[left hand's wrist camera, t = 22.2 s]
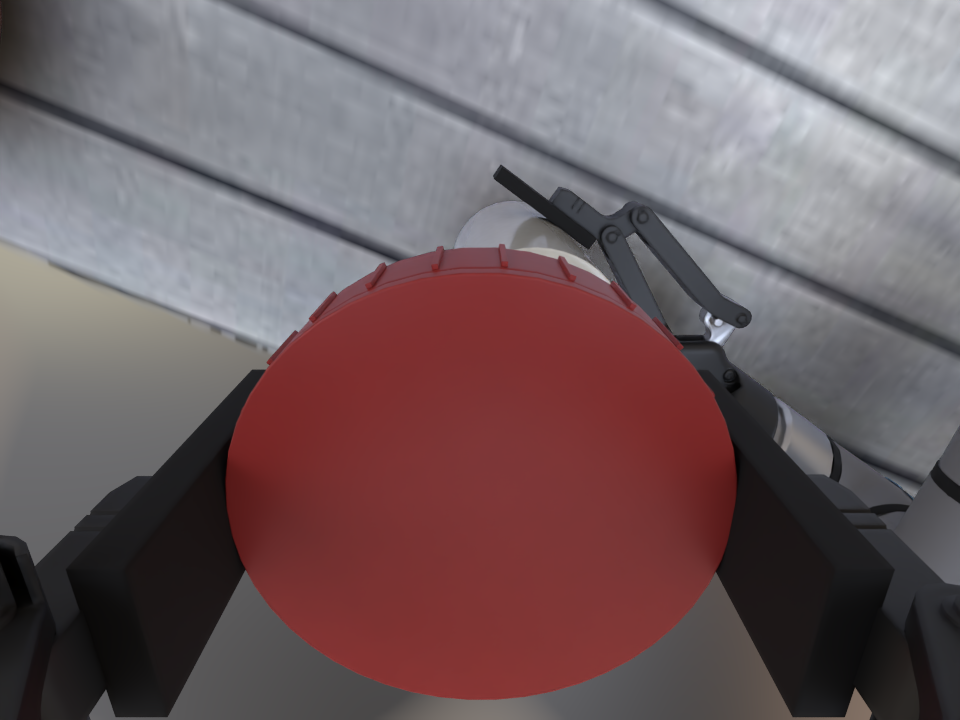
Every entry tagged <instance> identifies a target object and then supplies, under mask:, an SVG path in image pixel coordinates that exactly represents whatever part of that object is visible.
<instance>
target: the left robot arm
mask: <svg viewBox="0 0 960 720" xmlns="http://www.w3.org/2000/svg"><path fill="white" fill-rule="evenodd" d="M265 371H266V370H251V372H250V373H249V374H248V375H247V376H246V377H245V378H244V379H243V380H242V381H241V382H240V383H239V384H238V385H237V386H236V388H235V389H234V390H233V391H232V392H231V393H230V394H229V395H228V396H227V397H226V398H225V399H224V400H223V401H222V403H221V404H220V405H219V406H218V407H217V408H216V409H215V410H214V411H213V412H212V413H211V414H210V415H209V416H208V418H207V419H206V420H205V421H204V422H203V423H202V424H201V425H200V426H199V427H198V428H197V429H196V430H195V431H194V432H193V434H192V435H191V436H190V437H189V438H188V439H187V440H186V441H185V442H184V443H183V444H182V445H181V446H180V447H179V449H178V450H177V451H176V452H175V453H174V454H173V455H172V456H171V457H170V458H169V459H168V460H167V461H166V462H165V463H164V465H163V466H162V467H161V468H160V469H159V470H158V471H157V472H156V473H155V474H154V475H153V476H137V477H135V478H133V479H132V480H130V481H128V482H126V483H125V484H123V485H121V486H120V487H118V488H116V489H115V490H113V491H111V492H110V493H109V494H108V495H107V496H106V497H105V498H104V499H103V500H102V501H101V502H100V503H98V504H97V505H96V506H95V507H94V508H93V509H92V510H91V514H90V515H86V516H85V517H84V518H83V519H82V520H81V521H80V522H79V523H78V524H77V525H76V526H75V530H74V531H70V532H69V533H68V534H67V535H66V536H65V537H64V538H63V539H62V540H61V541H60V542H59V543H58V544H57V545H56V546H55V547H54V548H53V549H52V550H51V551H50V552H49V553H48V554H47V555H46V556H45V557H44V558H43V559H42V560H41V561H40V562H39V563H38V564H37V565H36V566H34V563H33V561H32V558H31V555H30V552H29V550H28V547H27V544H26V543H25V542H24V541H22V540H21V539H19V538H18V537H15V536H3V535H0V720H90V717H89V714H90V712H91V711H92V709H93V708H94V706H95V705H96V703H97V702H98V700H99V699H100V697H101V696H102V694H103V693H104V691H105V690H107V693H108V696H109V699H110V702H111V705H112V708H113V711H114V714H115V716H116V717H168V715H169V713H170V711H171V710H172V708H173V706H174V704H175V702H176V700H177V698H178V696H179V694H180V693H181V691H182V689H183V687H184V685H185V683H186V681H187V679H188V677H189V675H190V674H191V672H192V670H193V668H194V666H195V664H196V662H197V660H198V658H199V657H200V655H201V653H202V651H203V649H204V647H205V645H206V643H207V641H208V640H209V638H210V636H211V634H212V632H213V630H214V628H215V626H216V624H217V623H218V621H219V619H220V617H221V615H222V613H223V611H224V609H225V607H226V606H227V604H228V602H229V600H230V598H231V596H232V594H233V592H234V590H235V589H236V587H237V585H238V583H239V581H240V579H241V577H242V575H243V573H244V571H245V570H246V569H245V567H244V565H243V564H242V562H241V559H240V556H239V554H238V551H237V548H236V545H235V543H234V540H233V537H232V533H231V528H230V523H229V518H228V513H227V508H226V487H225V477H226V468H227V459H228V451H229V447H230V444H231V440H232V437H233V433H234V430H235V426H236V423H237V420H238V418H239V416H240V414H241V410H242V408H243V407H244V405H245V403H246V401H247V399H248V397H249V395H250V393H251V392H252V390H253V389H254V387H255V386H256V384H257V383H258V381H259V380H260V378H261V377H262V375H263V374H264V372H265ZM697 372H698V373H699V375H700V376H701V378H702V379H703V380H704V382H705V383H706V384H707V385H708V386H709V387H710V389H711V390H712V391H713V392H714V394H715V397H714V398H715V400H716V402H717V404H718V406H719V409H720V411H721V413H722V415H723V417H724V419H725V421H726V425H727V428H728V432H729V435H730V438H731V442H732V445H733V449H734V456H735V464H736V472H737V496H736V502H735V507H734V512H733V518H732V523H731V528H730V533H729V538H728V542H727V546H726V549H725V552H724V555H723V558H722V560H721V562H720V564H719V566H718V568H717V570H716V573H717V575H718V576H719V578H720V580H721V582H722V584H723V586H724V588H725V590H726V592H727V593H728V595H729V597H730V599H731V601H732V603H733V605H734V607H735V609H736V610H737V612H738V614H739V616H740V618H741V620H742V622H743V624H744V626H745V627H746V629H747V631H748V633H749V635H750V637H751V639H752V641H753V643H754V645H755V646H756V648H757V650H758V652H759V654H760V656H761V658H762V660H763V662H764V663H765V665H766V667H767V669H768V671H769V673H770V675H771V677H772V678H773V680H774V682H775V684H776V686H777V688H778V690H779V692H780V694H781V695H782V698H783V699H784V701H785V703H786V705H787V707H788V709H789V711H790V713H791V715H792V716H793V717H845V715H846V712H847V709H848V706H849V703H850V700H851V697H852V694H853V691H854V689H855V688H856V689H857V691H858V692H859V694H860V695H861V697H862V698H863V700H864V701H865V703H866V704H867V706H868V707H869V708H870V710H871V712H872V715H871V717H870V720H960V585H954V584H948V583H945V582H944V581H943V580H942V579H941V578H940V577H939V576H938V575H937V574H936V573H935V572H934V571H933V570H932V569H931V568H930V567H929V566H928V565H927V564H926V563H925V562H924V561H923V560H922V559H921V558H920V557H918V556H917V555H916V554H915V553H914V552H913V551H912V550H911V549H910V548H909V547H908V546H907V545H906V544H905V543H904V542H903V541H902V540H901V539H900V538H899V537H898V536H897V535H896V534H895V533H894V532H893V531H892V530H891V529H887V527H886V526H887V525H886V524H885V523H884V522H883V521H882V520H881V519H880V518H879V517H878V516H877V515H876V514H875V513H871V511H870V508H869V507H868V506H867V505H866V504H865V503H864V502H862V501H861V500H860V499H859V498H858V497H857V496H856V495H855V494H854V493H853V492H852V491H851V490H850V489H848V488H846V487H844V486H843V485H841V484H839V483H838V482H836V481H834V480H833V479H831V478H829V477H827V476H826V475H824V474H805V473H804V472H803V470H802V469H801V468H800V467H799V466H798V465H797V464H796V463H795V462H794V461H793V460H792V459H791V458H790V457H789V456H788V454H787V453H786V452H785V451H784V450H783V449H782V448H781V447H780V446H779V445H778V444H777V443H776V442H775V441H774V439H773V438H772V437H771V436H770V435H769V434H768V433H767V432H766V431H765V430H764V429H763V428H762V427H761V426H760V425H759V423H758V422H757V421H756V420H755V419H754V418H753V417H752V416H751V415H750V414H749V413H748V412H747V411H746V410H745V408H744V407H743V406H742V405H741V404H740V403H739V402H738V401H737V400H736V399H735V398H734V397H733V396H732V395H731V394H730V392H729V391H728V390H727V389H726V388H725V387H724V386H723V385H722V384H721V383H720V382H719V381H718V380H717V379H716V378H715V376H714V375H713V374H712V373H711V372H710V371H709V370H697Z"/></svg>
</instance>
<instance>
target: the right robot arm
mask: <svg viewBox="0 0 960 720" xmlns="http://www.w3.org/2000/svg"><path fill="white" fill-rule="evenodd" d="M493 177H494V179H495V180H496V181H497V182H499V183H500V184H501V185H503V186H504V187H505V188H507V189H508V190H509V191H511V192H512V193H513V194H515V195H516V196H517V197H519V198H520V199H521V200H523V201H524V202H525V203H527V204H528V205H529V206H531V207H532V208H533V209H535V210H536V211H537V212H539V213H540V214H542V215H543V216H544V217H546V218H547V219H548V220H550V221H551V222H552V223H554V224H555V225H556V226H558V227H559V228H560V229H562V230H563V231H564V232H566V233H567V234H568V235H570V236H571V237H572V238H574V239H575V240H576V241H578V242H579V243H580V244H582V245H583V246H584V247H586V248H587V249H589V248H590V247H591V246H592V244H593V243H594V242H595V241H596V239H597V241H598V243H599V245H600V247H601V249H602V251H603V253H604V255H605V257H606V259H607V261H608V263H609V265H610V267H611V269H612V271H613V273H614V275H615V277H616V279H617V281H618V283H619V285H620V287H621V288H622V290H623V291H624V292H625V293H626V294H627V295H628V296H629V298H630V299H631V300H632V301H633V302H635V303H636V304H637V305H639V306H640V307H641V308H642V310H643V311H644V312H645V313H646V314H647V315H648V316H649V317H650V318H651V319H653V318H655V317H657V318H658V319H659V321H660V322H661V323H662V324H663V325H664V326H665V327H666V328H667V329H668V330H669V331H670V333H671V334H672V332H671V330H670V328H669V327H668V325H667V324H666V322H665V320H664V318H663V316H662V314H661V312H660V310H659V308H658V305H657V303H656V301H655V299H654V297H653V295H652V293H651V291H650V289H649V287H648V285H647V283H646V281H645V278H644V276H643V274H642V272H641V270H640V268H639V266H638V264H637V262H636V260H635V258H634V256H633V253H632V251H631V249H630V247H629V245H628V243H627V241H626V239H625V238H626V237H628V236H629V235H631V234H632V233H634V232H635V233H636V234H637V235H638V236H639V237H640V239H641V240H642V241H643V242H644V243H645V244H646V246H647V247H648V248H649V249H650V250H651V252H652V253H653V254H654V255H655V256H656V257H657V259H658V260H659V261H660V262H661V263H662V265H663V266H664V267H665V268H666V269H667V270H668V272H669V273H670V274H671V275H672V276H673V278H674V279H675V280H676V281H677V282H678V283H679V285H680V286H681V287H682V288H683V289H684V291H685V292H686V293H687V294H688V295H689V296H690V297H691V298H692V299H693V300H694V301H695V302H696V303H698V304H699V305H700V306H701V307H703V308H702V309H701V310H700V314H699V319H700V321H701V322H702V323H703V324H704V325H705V327H706V332H705V334H704V335H673V334H672V335H673V336H674V337H675V338H676V339H677V340H678V341H679V342H680V343H681V345H682V346H683V347H684V348H683V349H681V350H680V351H681V352H682V354H683V355H684V356H685V357H686V358H687V359H688V360H689V361H690V363H691V364H692V365H693V366H694V367H695V369H696V370H709V371H710V372H711V373H712V374H713V375H714V376H715V378H716V379H717V380H718V381H719V382H720V383H721V384H722V385H723V386H724V387H725V388H726V389H727V390H728V391H729V392H730V394H731V395H732V396H733V397H734V398H735V399H736V400H737V401H738V402H739V403H740V404H741V405H742V406H743V407H744V408H745V410H746V411H747V412H748V413H749V414H750V415H751V416H752V417H753V418H754V419H755V420H756V421H757V422H758V423H759V425H760V426H761V427H762V428H763V429H764V430H765V431H766V432H767V433H768V434H769V435H770V436H771V437H772V438H773V439H774V441H775V442H776V443H777V444H778V445H779V446H780V447H781V448H782V449H783V450H784V451H785V452H786V453H787V454H788V456H789V457H790V458H791V459H792V460H793V461H794V462H795V463H796V464H797V465H798V466H799V467H800V468H801V469H802V470H803V472H804V473H805V474H824V475H826V476H827V477H829V478H831V479H833V480H834V481H836V482H838V483H839V484H841V485H843V486H844V487H846V488H848V489H850V490H851V491H852V492H853V493H854V494H855V495H856V496H857V497H858V498H859V499H860V500H861V501H862V502H864V503H865V504H866V505H867V506H868V507H869V508H870V511H871V513H875V514H876V515H877V516H878V517H879V518H880V519H881V520H882V521H883V522H884V523H885V524H886V525H887V526H886V527H887V529H891V530H892V531H893V532H894V533H895V534H896V535H897V536H898V537H899V538H900V539H901V540H902V541H903V542H904V543H905V544H906V545H907V546H908V547H909V548H910V549H911V550H912V551H913V552H914V553H915V554H916V555H917V556H918V557H920V558H921V559H922V560H923V561H924V562H925V563H926V564H927V565H928V566H929V567H930V568H931V569H932V570H933V571H934V572H935V573H936V574H937V575H938V576H939V577H940V578H941V579H942V580H943V581H944V582H945V583H948V584H954V585H960V426H959V427H958V429H957V431H956V433H955V434H954V436H953V438H952V440H951V441H950V443H949V445H948V446H947V448H946V450H945V452H944V453H943V455H942V457H941V458H940V460H938V461H937V463H936V464H935V466H934V468H933V469H932V470H931V472H930V473H929V475H928V477H927V478H926V480H925V481H924V483H923V485H922V486H921V488H920V490H919V491H918V493H917V495H916V496H915V498H913V497H912V496H910V495H909V494H908V493H906V492H905V491H904V490H903V489H902V487H901V486H899V485H898V484H896V483H895V482H893V481H892V480H891V479H889V478H887V477H883V476H882V475H881V474H879V473H878V472H877V471H875V470H874V469H873V468H871V467H870V466H869V465H867V464H866V463H864V462H863V461H861V460H860V459H859V458H857V457H856V456H854V455H853V454H851V453H850V452H849V451H847V450H846V449H844V448H843V447H841V446H840V445H839V444H837V443H836V442H834V441H833V440H832V439H831V438H830V437H829V436H827V435H826V434H825V433H824V432H823V431H821V430H820V429H819V428H817V427H816V426H815V425H813V424H812V423H811V422H809V421H808V420H807V419H805V418H804V417H803V416H802V415H800V414H799V413H798V412H796V411H795V410H794V409H792V408H791V407H790V406H788V405H787V404H786V403H784V402H783V401H781V400H779V399H778V398H776V397H774V396H773V395H772V394H771V393H770V392H769V391H768V390H767V389H765V388H764V387H763V386H761V385H760V384H759V383H757V382H756V381H755V380H753V379H752V378H751V377H749V376H748V375H747V374H745V373H744V372H743V371H741V370H740V369H739V368H737V367H736V366H735V365H733V364H732V363H731V362H729V361H728V359H727V357H726V354H725V351H724V349H723V348H722V347H723V345H724V344H725V342H726V341H727V339H728V338H729V337H730V335H731V334H732V332H733V331H734V329H735V328H744V327H746V326H747V325H748V324H749V323H750V321H751V318H752V315H751V313H750V311H748V310H747V309H746V308H744V307H743V306H741V305H740V304H738V303H737V302H735V301H733V300H732V299H730V298H728V297H727V296H725V295H723V294H721V293H720V292H719V291H718V290H717V289H716V287H715V286H714V285H713V284H712V283H711V281H710V280H709V279H708V278H707V277H706V275H705V274H704V273H703V272H702V270H701V269H700V268H699V267H698V266H697V264H696V263H695V262H694V261H693V260H692V258H691V257H690V256H689V255H688V253H687V252H686V251H685V250H684V249H683V247H682V246H681V245H680V244H679V243H678V241H677V240H676V239H675V238H674V237H673V235H672V234H671V233H670V232H669V230H668V229H667V228H666V227H665V226H664V224H663V223H662V222H661V221H660V220H659V218H658V217H657V216H656V215H655V213H654V212H653V211H652V210H651V209H650V208H649V207H647V206H645V205H642V204H640V203H638V202H634V201H631V202H628V203H626V204H625V205H624V207H623V208H622V209H621V210H619V211H618V212H616V213H615V214H613V215H609V216H604V215H601V214H600V213H599V212H597V211H596V210H595V209H594V208H592V207H591V206H590V205H588V204H587V203H586V202H585V201H583V200H582V199H581V198H579V197H578V196H577V195H575V194H574V193H573V192H572V191H570V190H568V189H565V188H562V187H558V189H557V190H556V191H555V193H554V194H553V195H552V197H551V198H550V199H549V201H548V200H547V199H546V198H544V197H543V196H542V195H540V194H539V193H538V192H536V191H535V190H534V189H533V188H531V187H530V186H529V185H527V184H526V183H525V182H523V181H522V180H521V179H519V178H518V177H517V176H515V175H514V174H513V173H511V172H510V171H509V170H507V169H506V168H505V167H503V166H502V165H500V166H499V168H498V169H497V171H496V172H495V174H494V175H493Z"/></svg>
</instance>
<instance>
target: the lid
mask: <svg viewBox="0 0 960 720" xmlns="http://www.w3.org/2000/svg"><path fill="white" fill-rule="evenodd" d="M683 348H684V347H683V346H682V345H681V343H680V342H679V341H678V340H677V339H676V338H675V337H674V336H673V335H672V334H671V333H670V331H669V330H668V329H667V328H666V327H665V326H664V325H663V324H662V323H661V322H660V321H659V319H658V318H657V317H655V318H653V319H651V318H650V317H649V316H648V315H647V314H646V313H645V312H644V311H643V310H642V308H641V307H640V306H639V305H637V304H636V303H635V302H633V301H632V300H631V299H630V298H629V296H628V295H627V294H626V293H625V292H624V291H623V290H622V288H621V287H620V286H619V285H618V284H617V283H616V282H614V281H612V282H611V284H609V283H607V282H606V281H604V280H602V279H600V278H599V277H597V276H595V275H594V274H592V273H590V272H588V271H586V270H583V269H581V268H578V267H576V266H574V265H571V264H569V263H568V262H567V260H566V259H565V257H563V256H559V257H558V259H555V258H551V257H547V256H544V255H540V254H536V253H532V252H528V251H520V250H512V249H506V248H505V244H499V248H497V247H490V248H457V249H450V250H444V248H443V246H439V247H437V250H436V251H435V252H430V253H426V254H422V255H419V256H415V257H411V258H408V259H404V260H400V261H398V262H396V263H393V264H391V265H389V266H386V264H385V263H381V264H380V265H379V266H378V267H377V269H376V270H375V271H374V272H372V273H370V274H368V275H367V276H365V277H363V278H362V279H360V280H358V281H357V282H355V283H353V284H352V285H350V286H348V287H347V288H345V289H344V290H342V291H341V292H340V293H339V294H338V295H337V294H336V293H335V292H332V293H331V294H330V295H329V296H328V297H327V298H326V300H325V301H324V302H323V303H322V304H321V305H320V306H319V307H318V309H317V310H316V311H315V312H314V313H313V314H312V315H311V316H310V318H309V322H308V323H307V324H306V325H305V326H304V327H303V328H302V329H301V330H300V331H299V332H297V331H296V330H295V331H294V332H293V333H292V334H291V335H290V336H289V338H288V339H287V340H286V341H285V342H284V343H283V344H282V345H281V346H280V347H279V349H278V350H277V351H276V352H275V353H274V354H273V355H272V356H271V357H270V359H269V360H268V361H267V364H269V365H270V366H269V367H268V368H267V369H266V371H265V372H264V374H263V375H262V377H261V378H260V380H259V381H258V383H257V384H256V386H255V387H254V389H253V390H252V392H251V393H250V395H249V397H248V399H247V401H246V403H245V405H244V407H243V408H242V410H241V414H240V416H239V418H238V420H237V423H236V426H235V430H234V433H233V437H232V440H231V444H230V447H229V451H228V459H227V468H226V477H225V487H226V508H227V513H228V518H229V523H230V528H231V533H232V537H233V540H234V543H235V545H236V548H237V551H238V554H239V556H240V559H241V562H242V564H243V565H244V567H245V569H246V571H247V573H248V575H249V577H250V578H251V580H252V582H253V584H254V586H255V587H256V589H257V590H258V591H259V593H260V594H261V596H262V597H263V598H264V600H265V601H266V602H267V604H268V605H269V606H270V608H271V609H272V610H273V611H274V612H275V613H276V614H277V615H278V616H279V617H280V619H281V620H282V621H283V622H284V623H285V624H286V625H287V626H288V627H289V628H290V629H291V630H292V631H294V632H295V633H296V634H297V635H298V636H300V637H301V638H302V639H303V640H304V641H306V642H307V643H308V644H309V645H310V646H312V647H313V648H315V649H316V650H318V651H319V652H321V653H322V654H324V655H325V656H327V657H328V658H330V659H331V660H333V661H335V662H337V663H338V664H340V665H342V666H344V667H346V668H348V669H350V670H352V671H354V672H356V673H358V674H360V675H363V676H365V677H368V678H370V679H373V680H375V681H378V682H380V683H383V684H386V685H389V686H393V687H396V688H400V689H403V690H407V691H410V692H415V693H420V694H426V695H431V696H437V697H444V698H455V699H466V700H497V699H508V698H518V697H526V696H531V695H537V694H542V693H547V692H552V691H556V690H559V689H563V688H566V687H570V686H573V685H576V684H580V683H582V682H585V681H587V680H590V679H592V678H595V677H597V676H599V675H602V674H605V673H607V672H609V671H610V670H612V669H614V668H616V667H618V666H620V665H622V664H624V663H626V662H628V661H629V660H631V659H633V658H634V657H636V656H637V655H639V654H640V653H641V652H643V651H644V650H646V649H647V648H649V647H650V646H652V645H653V644H655V643H656V642H657V641H658V640H659V639H660V638H662V637H663V636H664V635H665V634H666V633H667V632H669V631H670V630H671V629H672V628H673V627H674V626H675V625H676V624H677V623H678V622H679V621H680V620H681V619H682V618H683V617H684V616H685V615H686V614H687V612H688V611H689V610H690V609H691V608H692V607H693V606H694V604H695V603H696V602H697V600H698V599H699V597H700V596H701V595H702V593H703V592H704V590H705V589H706V588H707V586H708V585H709V583H710V581H711V579H712V577H713V575H714V574H715V572H716V570H717V568H718V566H719V564H720V562H721V560H722V558H723V555H724V552H725V549H726V546H727V542H728V538H729V533H730V528H731V523H732V518H733V512H734V507H735V502H736V496H737V472H736V464H735V456H734V449H733V445H732V442H731V438H730V435H729V432H728V428H727V425H726V421H725V419H724V417H723V415H722V413H721V411H720V409H719V406H718V404H717V402H716V400H715V398H714V397H715V394H714V392H713V391H712V390H711V389H710V387H709V386H708V385H707V384H706V383H705V382H704V380H703V379H702V378H701V376H700V375H699V373H698V372H697V370H696V369H695V367H694V366H693V365H692V364H691V363H690V361H689V360H688V359H687V358H686V357H685V356H684V355H683V354H682V352H681V351H680V350H681V349H683Z"/></svg>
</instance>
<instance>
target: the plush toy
mask: <svg viewBox="0 0 960 720" xmlns="http://www.w3.org/2000/svg"><path fill="white" fill-rule="evenodd" d="M1 30H2V4H1V0H0V40H1Z"/></svg>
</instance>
